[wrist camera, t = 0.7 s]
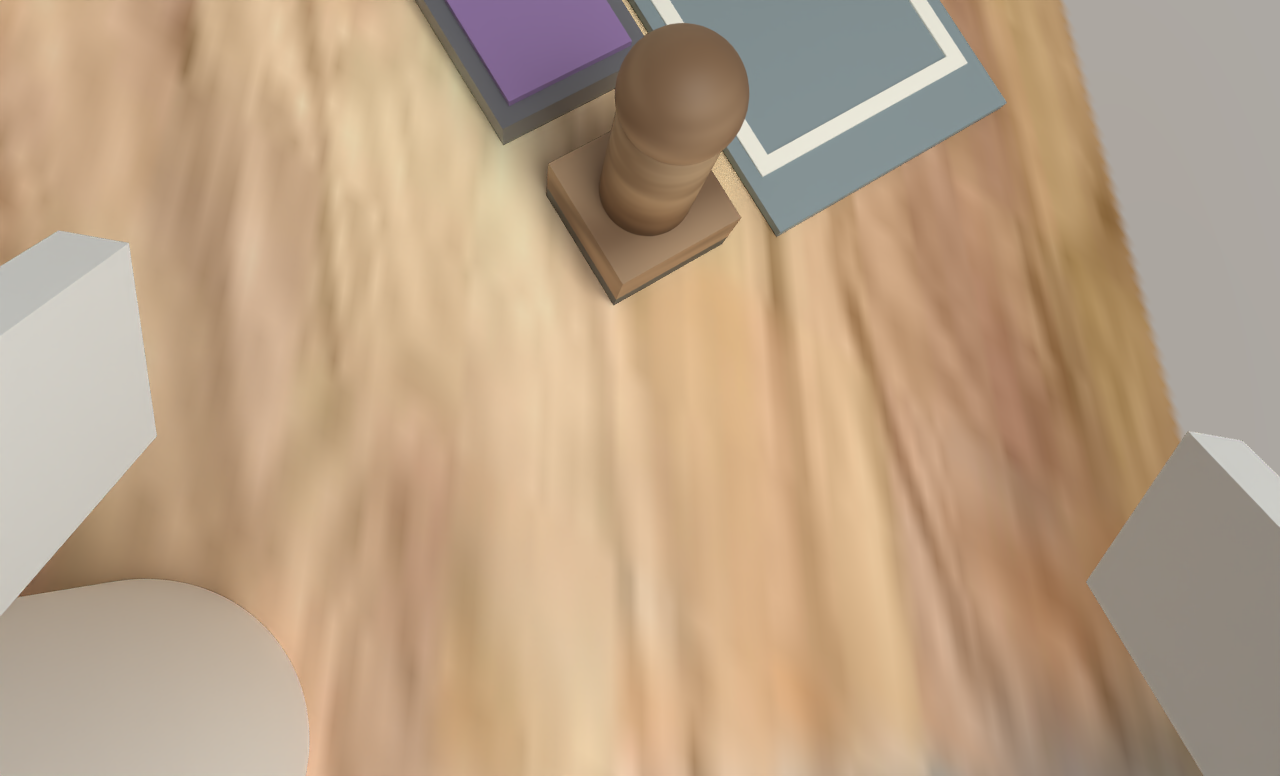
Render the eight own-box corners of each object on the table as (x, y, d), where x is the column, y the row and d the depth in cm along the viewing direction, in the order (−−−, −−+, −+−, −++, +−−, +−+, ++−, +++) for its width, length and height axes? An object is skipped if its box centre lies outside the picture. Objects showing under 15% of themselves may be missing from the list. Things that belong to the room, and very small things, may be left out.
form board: (581, -74, 40) (582, -85, 40) (811, -180, 43) (816, -191, 42) (776, 236, 39) (781, 231, 39) (1000, 108, 42) (1007, 101, 41)
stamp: (546, 194, 38) (558, 18, 25) (655, 137, 39) (724, -61, 26) (613, 305, 38) (663, 188, 24) (722, 243, 39) (827, 99, 25)
